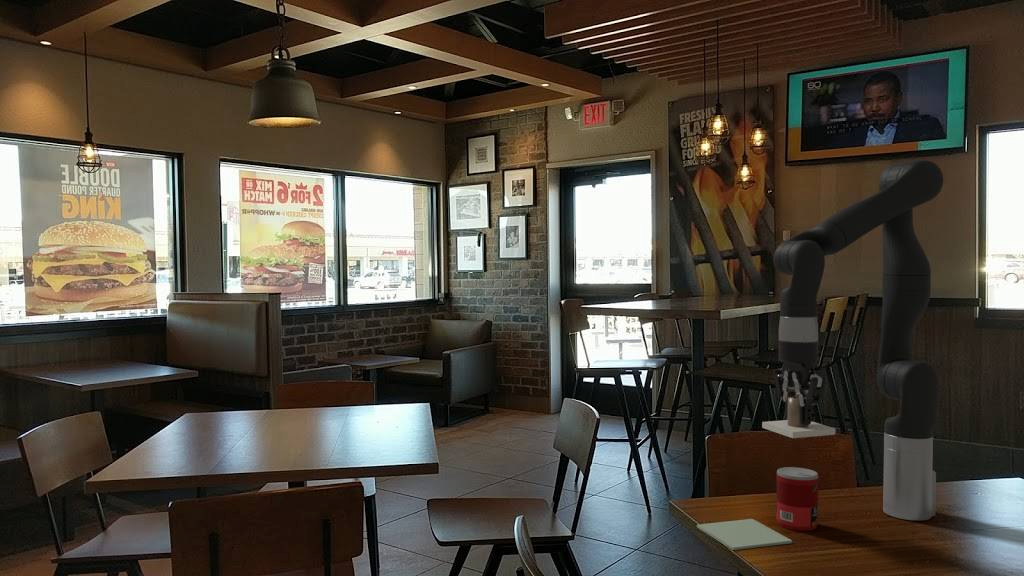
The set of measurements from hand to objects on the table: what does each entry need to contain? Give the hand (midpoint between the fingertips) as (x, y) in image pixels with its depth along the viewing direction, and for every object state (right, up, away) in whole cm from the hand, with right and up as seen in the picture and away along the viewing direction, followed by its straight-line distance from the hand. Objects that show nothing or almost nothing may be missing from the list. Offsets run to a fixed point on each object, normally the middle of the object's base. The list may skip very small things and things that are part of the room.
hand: (797, 421), depth 155 cm
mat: (-13, -21, -5) cm, 26 cm away
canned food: (0, -22, +1) cm, 22 cm away
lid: (0, -2, 0) cm, 2 cm away
